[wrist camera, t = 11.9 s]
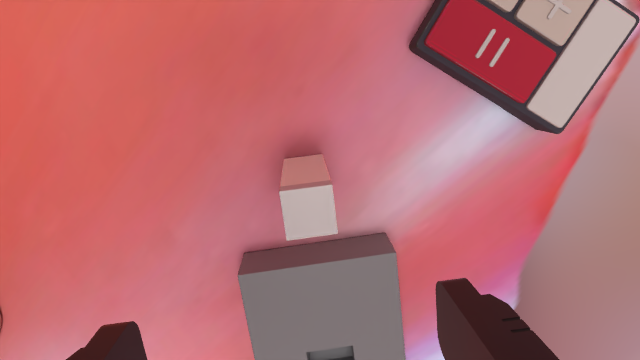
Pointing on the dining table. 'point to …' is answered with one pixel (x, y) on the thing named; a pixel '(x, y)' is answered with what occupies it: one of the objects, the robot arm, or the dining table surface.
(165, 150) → the dining table surface
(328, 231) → the pale square peg
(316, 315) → the header
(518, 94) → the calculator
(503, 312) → the robot arm
